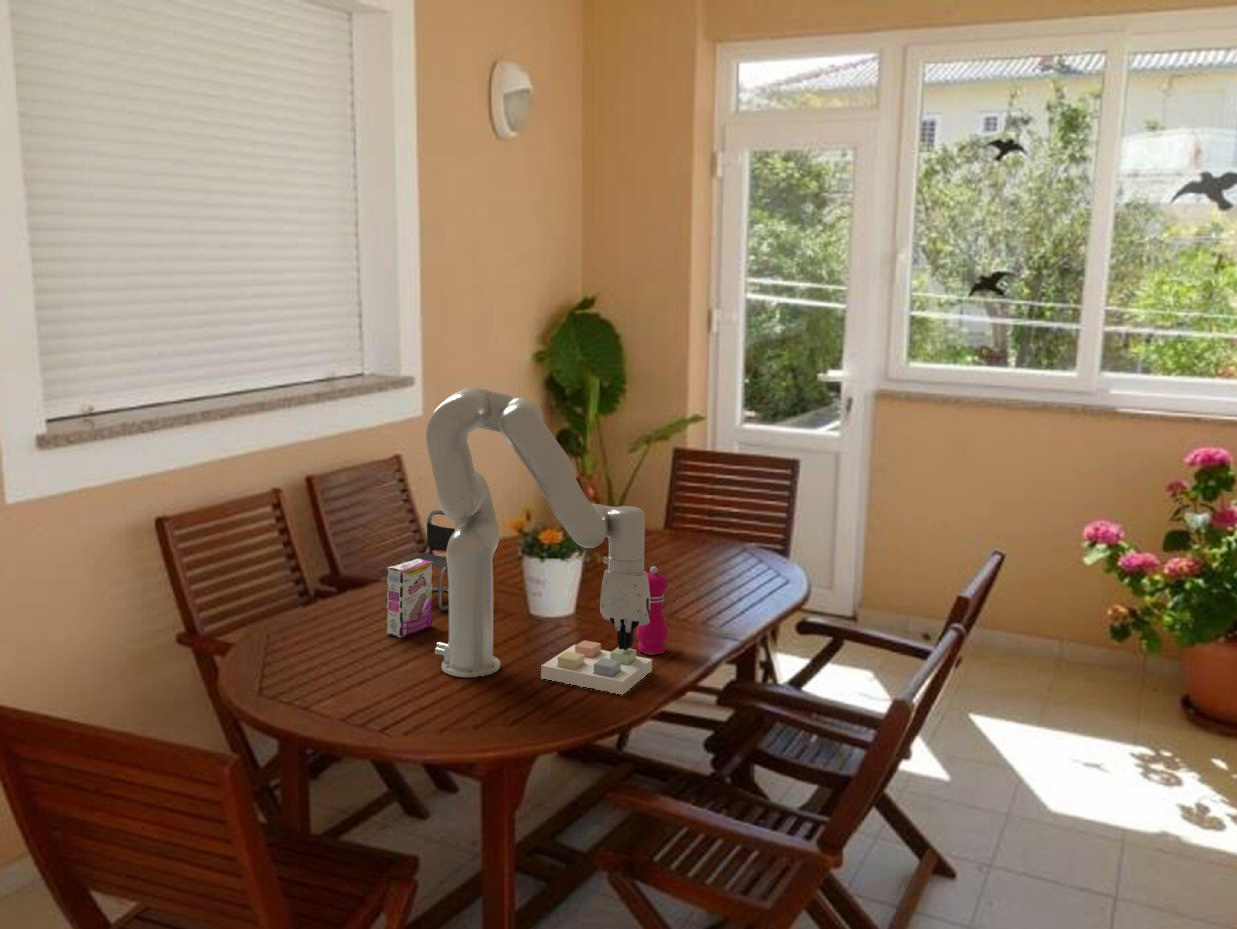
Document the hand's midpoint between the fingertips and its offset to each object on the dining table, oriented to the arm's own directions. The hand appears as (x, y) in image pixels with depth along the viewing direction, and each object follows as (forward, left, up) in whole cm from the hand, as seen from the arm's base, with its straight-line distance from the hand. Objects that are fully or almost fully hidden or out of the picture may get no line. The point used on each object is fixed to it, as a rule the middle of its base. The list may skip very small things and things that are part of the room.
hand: (625, 647), depth 232 cm
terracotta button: (-9, 0, -3) cm, 9 cm away
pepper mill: (-1, +16, -6) cm, 17 cm away
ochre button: (-9, -8, -3) cm, 12 cm away
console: (-5, -4, -6) cm, 8 cm away
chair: (-65, +24, -6) cm, 69 cm away
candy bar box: (-57, +1, -6) cm, 57 cm away
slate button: (0, -8, -3) cm, 9 cm away
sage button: (0, 0, -3) cm, 3 cm away
